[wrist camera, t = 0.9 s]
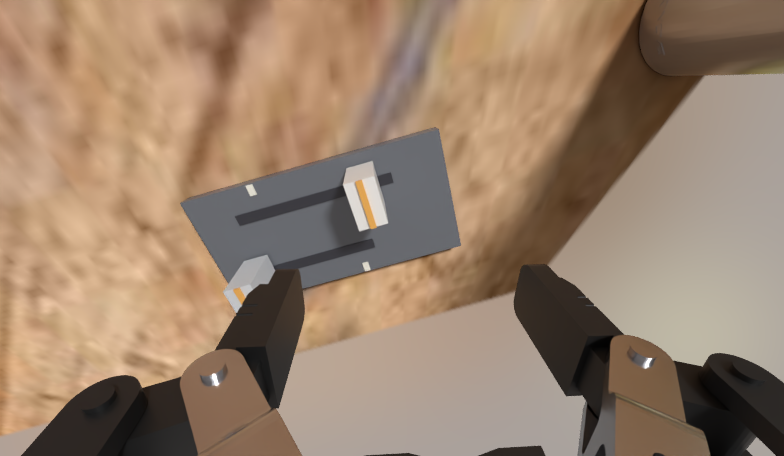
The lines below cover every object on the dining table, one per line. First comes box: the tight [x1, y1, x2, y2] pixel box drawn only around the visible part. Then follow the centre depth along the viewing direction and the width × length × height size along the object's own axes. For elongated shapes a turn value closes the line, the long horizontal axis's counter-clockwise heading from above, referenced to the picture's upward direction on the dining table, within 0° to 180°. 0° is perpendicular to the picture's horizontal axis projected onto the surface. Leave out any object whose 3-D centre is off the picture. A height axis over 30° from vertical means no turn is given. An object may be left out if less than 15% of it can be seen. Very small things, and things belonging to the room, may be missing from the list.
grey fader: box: [223, 255, 275, 313], centre depth 29 cm, size 2×4×5 cm, turn 15°
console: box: [180, 127, 461, 289], centre depth 31 cm, size 24×12×2 cm, turn 105°
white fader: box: [343, 161, 388, 231], centre depth 26 cm, size 2×4×5 cm, turn 15°
